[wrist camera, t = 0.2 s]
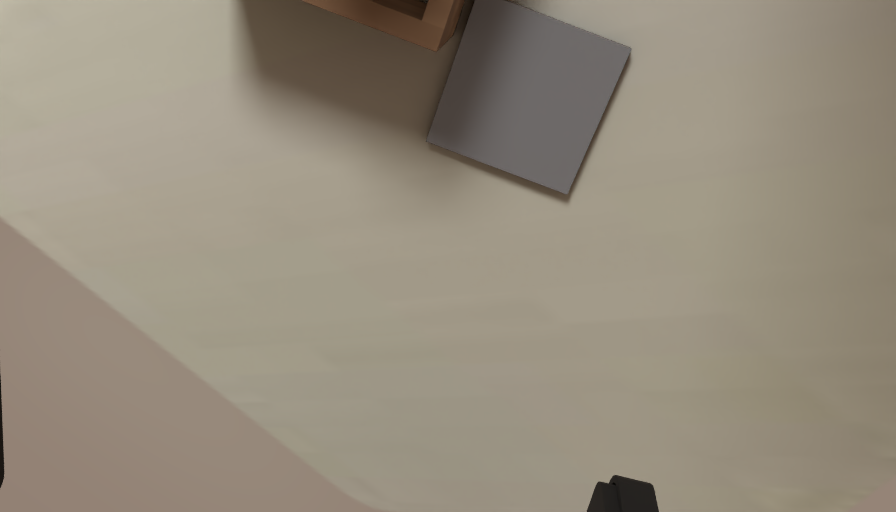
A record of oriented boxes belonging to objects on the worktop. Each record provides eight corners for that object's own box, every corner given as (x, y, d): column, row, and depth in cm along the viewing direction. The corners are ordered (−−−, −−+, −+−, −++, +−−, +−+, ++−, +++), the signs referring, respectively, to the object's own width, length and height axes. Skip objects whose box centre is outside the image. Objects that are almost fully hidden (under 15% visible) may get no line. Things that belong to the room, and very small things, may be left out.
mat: (479, -11, 37) (478, -10, 37) (630, 47, 38) (631, 49, 37) (427, 138, 41) (425, 141, 40) (566, 191, 41) (567, 194, 40)
